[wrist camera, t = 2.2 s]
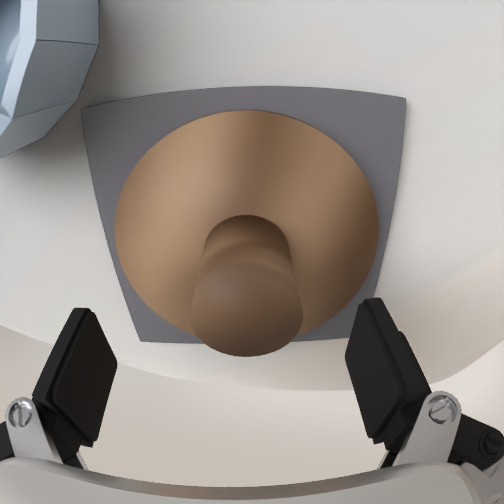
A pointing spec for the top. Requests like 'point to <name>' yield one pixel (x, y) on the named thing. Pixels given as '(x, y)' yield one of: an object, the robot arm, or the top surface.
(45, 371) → the robot arm
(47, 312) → the top surface
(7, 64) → the bowl
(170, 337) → the mat
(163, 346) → the top surface
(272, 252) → the lid
